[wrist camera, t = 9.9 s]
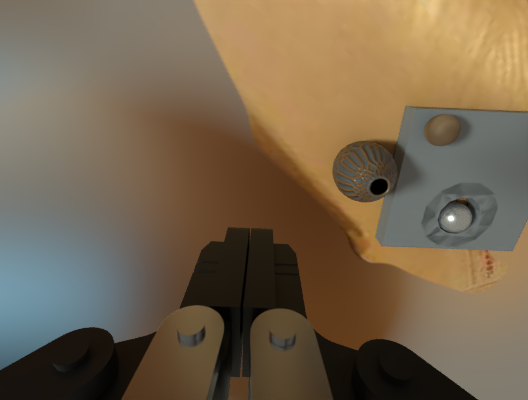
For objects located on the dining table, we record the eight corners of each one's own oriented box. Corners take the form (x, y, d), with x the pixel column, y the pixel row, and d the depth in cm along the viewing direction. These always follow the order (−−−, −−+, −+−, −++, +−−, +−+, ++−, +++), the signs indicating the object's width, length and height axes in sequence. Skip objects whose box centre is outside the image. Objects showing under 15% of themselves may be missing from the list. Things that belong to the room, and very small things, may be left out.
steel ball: (443, 233, 35) (425, 223, 39) (473, 239, 36) (451, 228, 39) (454, 203, 34) (434, 196, 38) (484, 209, 35) (461, 201, 39)
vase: (392, 160, 36) (429, 184, 28) (352, 197, 38) (375, 229, 30) (356, 124, 34) (384, 138, 26) (316, 165, 36) (330, 190, 28)
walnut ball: (422, 111, 31) (439, 115, 28) (452, 112, 31) (473, 116, 28) (414, 142, 32) (430, 148, 29) (443, 143, 32) (462, 150, 29)
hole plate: (405, 106, 33) (415, 108, 31) (555, 112, 33) (576, 115, 31) (375, 236, 40) (381, 246, 38) (498, 241, 41) (512, 251, 38)
